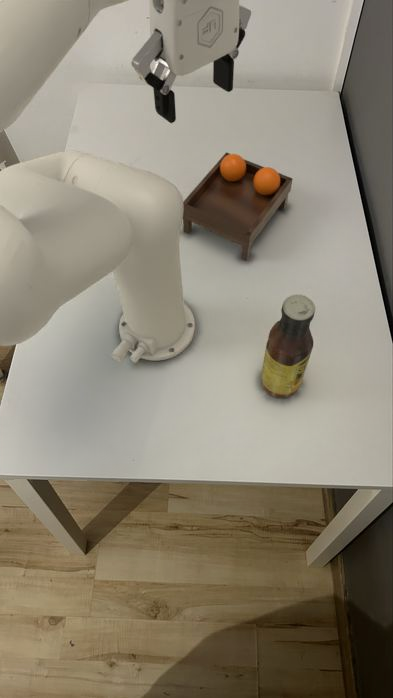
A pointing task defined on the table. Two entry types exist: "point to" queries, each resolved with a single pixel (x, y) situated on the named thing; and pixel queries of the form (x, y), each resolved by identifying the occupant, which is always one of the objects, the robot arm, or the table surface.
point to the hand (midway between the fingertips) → (195, 101)
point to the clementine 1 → (233, 167)
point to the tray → (233, 205)
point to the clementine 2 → (266, 181)
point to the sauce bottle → (288, 348)
